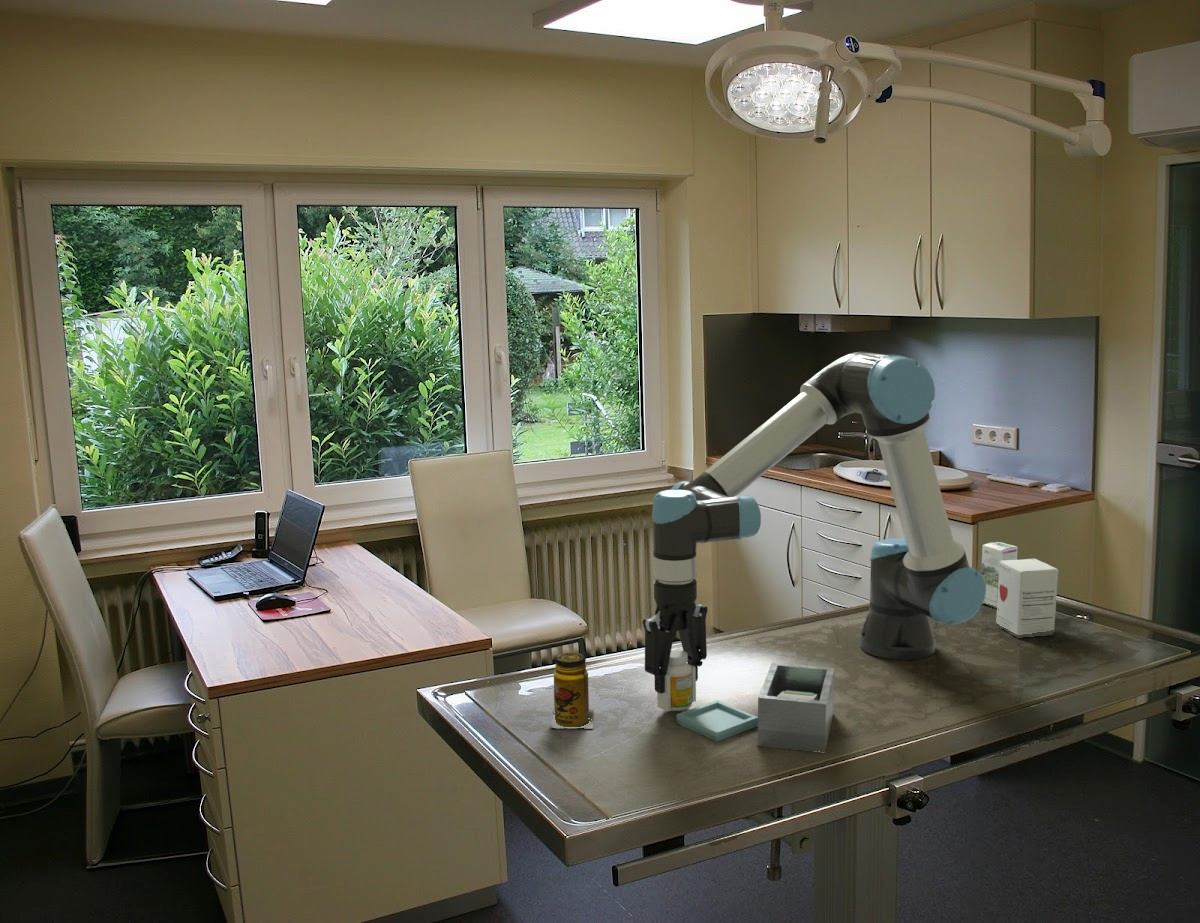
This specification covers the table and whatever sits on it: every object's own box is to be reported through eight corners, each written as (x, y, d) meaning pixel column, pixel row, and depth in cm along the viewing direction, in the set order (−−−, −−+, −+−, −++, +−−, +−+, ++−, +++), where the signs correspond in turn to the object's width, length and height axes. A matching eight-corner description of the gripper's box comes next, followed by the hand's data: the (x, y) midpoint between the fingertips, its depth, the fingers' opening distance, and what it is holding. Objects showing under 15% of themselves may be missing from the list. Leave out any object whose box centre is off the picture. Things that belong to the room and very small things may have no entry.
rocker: (780, 700, 195) (780, 689, 195) (819, 704, 193) (820, 693, 193) (773, 707, 186) (774, 695, 186) (814, 711, 184) (815, 699, 184)
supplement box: (994, 625, 244) (997, 559, 241) (1031, 623, 245) (1035, 557, 243) (1016, 639, 235) (1020, 570, 232) (1055, 636, 237) (1059, 568, 234)
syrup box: (1015, 606, 257) (1019, 545, 255) (998, 610, 254) (1001, 549, 252) (995, 600, 262) (999, 540, 260) (978, 604, 259) (981, 543, 257)
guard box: (771, 707, 200) (772, 662, 199) (833, 713, 197) (834, 668, 196) (757, 746, 184) (758, 697, 183) (824, 753, 181) (826, 704, 179)
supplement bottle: (657, 702, 200) (656, 651, 198) (684, 697, 202) (683, 646, 200) (669, 713, 195) (668, 660, 193) (697, 708, 197) (696, 656, 195)
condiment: (550, 730, 191) (549, 663, 189) (553, 710, 200) (552, 647, 198) (593, 729, 191) (592, 663, 189) (593, 710, 200) (593, 646, 197)
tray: (717, 708, 200) (717, 700, 199) (758, 725, 192) (758, 717, 192) (676, 723, 194) (676, 714, 193) (717, 741, 186) (717, 732, 186)
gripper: (698, 564, 203) (699, 684, 207) (620, 584, 191) (623, 711, 195) (727, 572, 197) (728, 696, 201) (649, 594, 186) (652, 724, 190)
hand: (676, 703), depth 198 cm, fingers closed on supplement bottle, 5 cm apart
